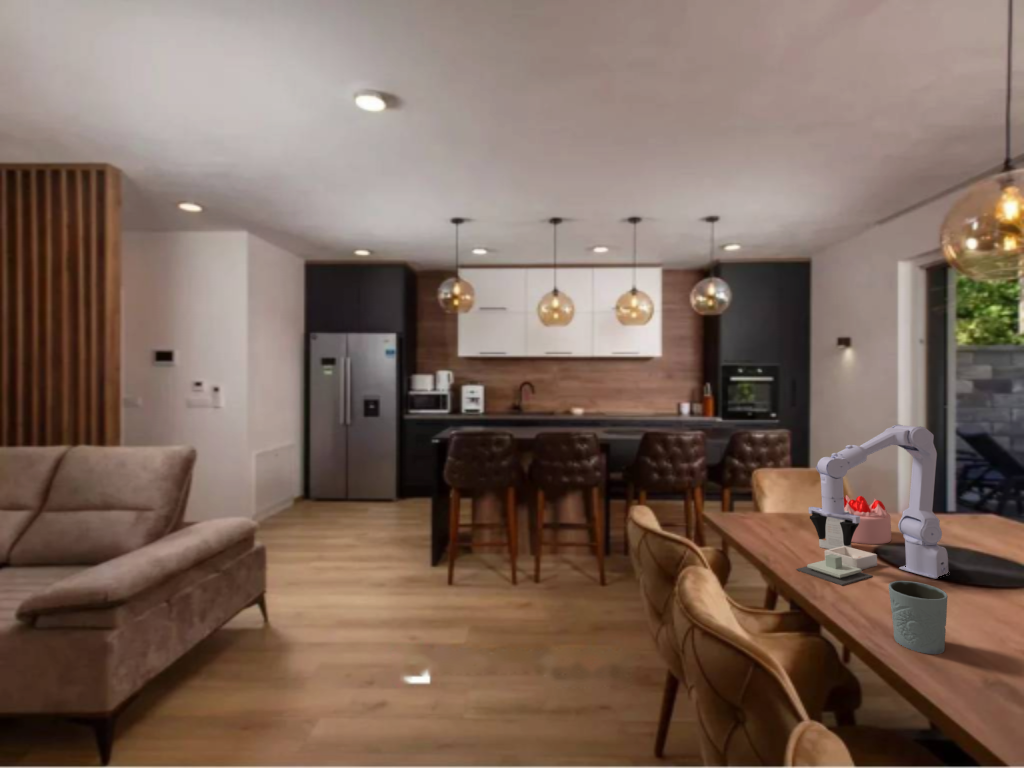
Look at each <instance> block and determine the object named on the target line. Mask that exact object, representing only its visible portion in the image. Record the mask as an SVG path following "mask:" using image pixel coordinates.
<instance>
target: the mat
mask: <svg viewBox="0 0 1024 768" xmlns="http://www.w3.org/2000/svg"><path fill="white" fill-rule="evenodd" d="M795 570H796V571H797V570H798V572H800V571H801V572H800V573H803V574H806V575H810V576H813V577H815V578H818V579H821V580H824V581H827V582H830V583H834V584H836V585H839V586H846V585H849V584H852V583H853V584H854V583H856V582H861V581H864V580H867V579H870V578H873V575H872V574H868V573H865V572H863V571H862V572H859V573H855V574H853V575H850V576H846V577H842V578H836V577H833V576H830V575H826V574H823V573H820V572H817V571H814V570H813V569H812V568H808V567H807V565H806V566H802V567H800V568H796V569H795Z"/></svg>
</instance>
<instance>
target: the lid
mask: <svg viewBox="0 0 1024 768" xmlns="http://www.w3.org/2000/svg"><path fill="white" fill-rule="evenodd" d="M825 558H826V560H825ZM806 566H807V567H808V568H812V569H813V570H814V571H817V572H820V573H823V574H826V575H830V576H833V577H836V578H842V577H846V576H850V575H853V574H855V573H859V572H862V573H863V570H862V569H860V568H856V567H853V566H849V565H846V564H843V563H842V557H841V556H837V555H834V554H830V555H825V554H824V559H823V560H820V561H816V562H813V563H812V562H811V563H807V565H806Z"/></svg>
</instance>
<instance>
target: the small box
mask: <svg viewBox="0 0 1024 768" xmlns="http://www.w3.org/2000/svg"><path fill="white" fill-rule="evenodd" d="M844 512H847V513H849V511H844ZM840 522H845V520H840V519H835V518H831V517H827V520H826V537H825V539H819V538H818V543H819V544H818V545H819V548H823V549H825V550H829V549H833V548H837V547H841V546H844V543H843V532H842V528H841V525H840ZM847 547H851V548H852V544H851V545H849V546H847Z"/></svg>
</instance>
